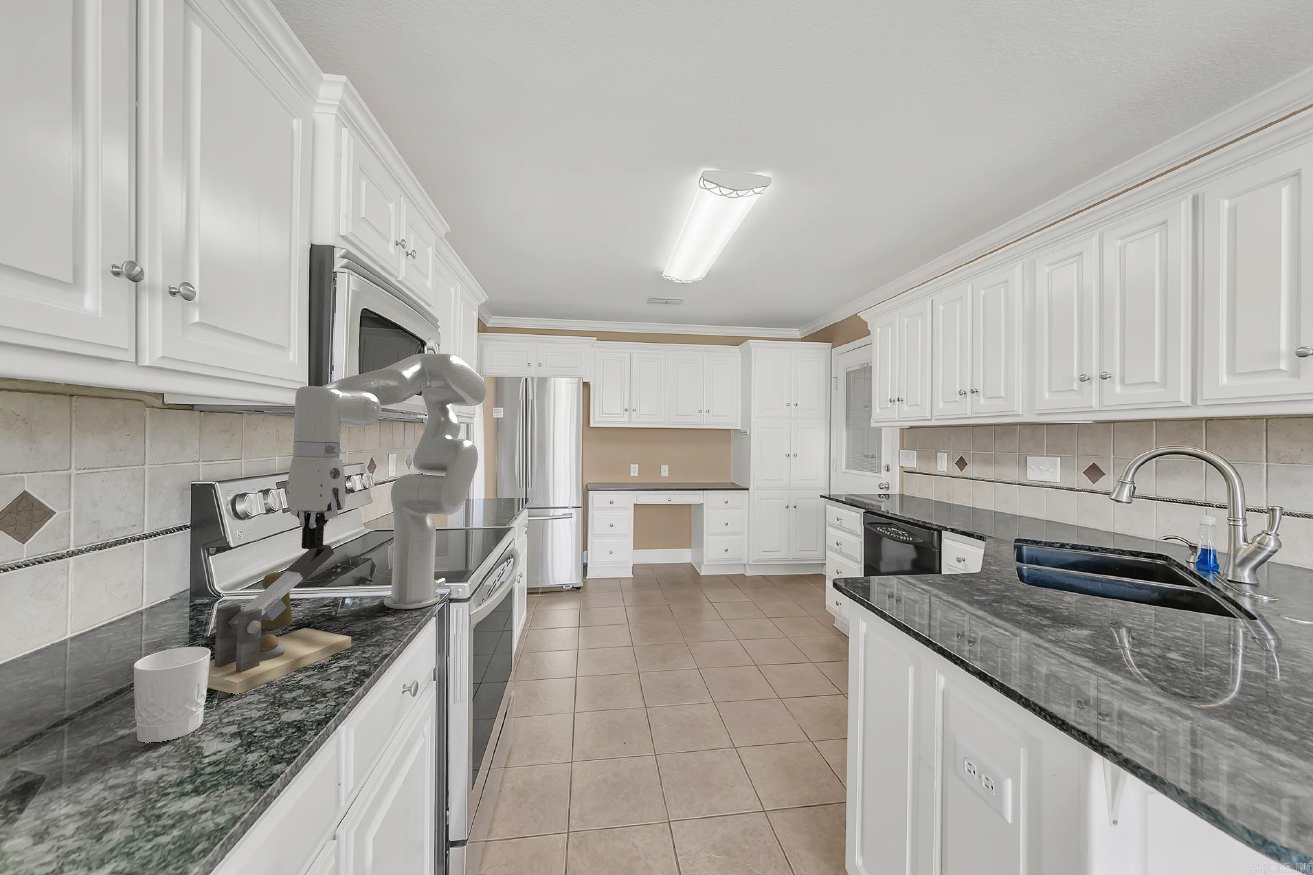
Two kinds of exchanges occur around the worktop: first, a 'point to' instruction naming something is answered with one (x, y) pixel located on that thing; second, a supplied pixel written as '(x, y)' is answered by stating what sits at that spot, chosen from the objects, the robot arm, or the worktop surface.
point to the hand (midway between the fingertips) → (312, 547)
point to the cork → (286, 615)
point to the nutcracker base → (263, 651)
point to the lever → (286, 584)
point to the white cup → (170, 693)
